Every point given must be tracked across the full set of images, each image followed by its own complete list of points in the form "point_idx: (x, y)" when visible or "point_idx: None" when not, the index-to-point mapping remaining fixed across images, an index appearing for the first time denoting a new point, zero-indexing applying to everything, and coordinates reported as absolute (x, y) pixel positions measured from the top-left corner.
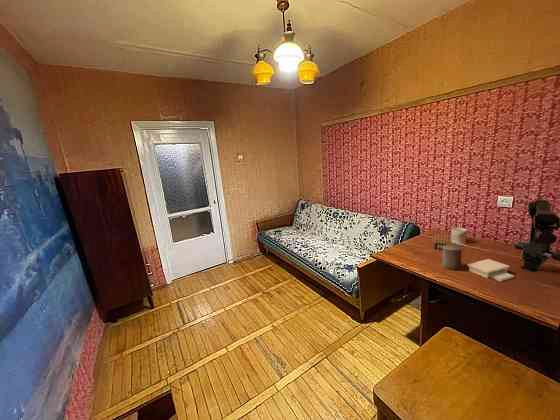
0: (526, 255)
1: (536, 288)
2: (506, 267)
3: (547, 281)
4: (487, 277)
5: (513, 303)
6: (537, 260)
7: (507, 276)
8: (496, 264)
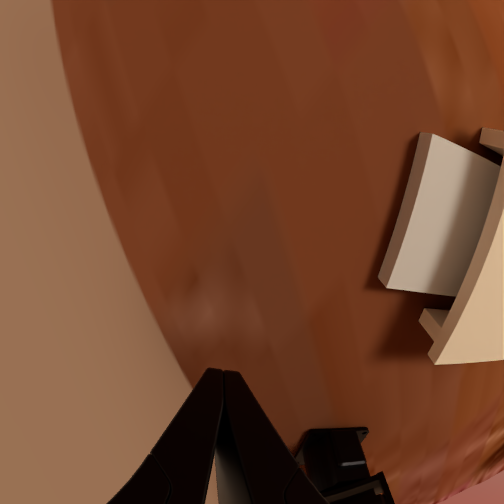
0: (374, 500)
1: (217, 213)
2: (445, 334)
3: None
4: (484, 130)
5: None
6: (243, 477)
7: (414, 231)
8: (494, 320)
